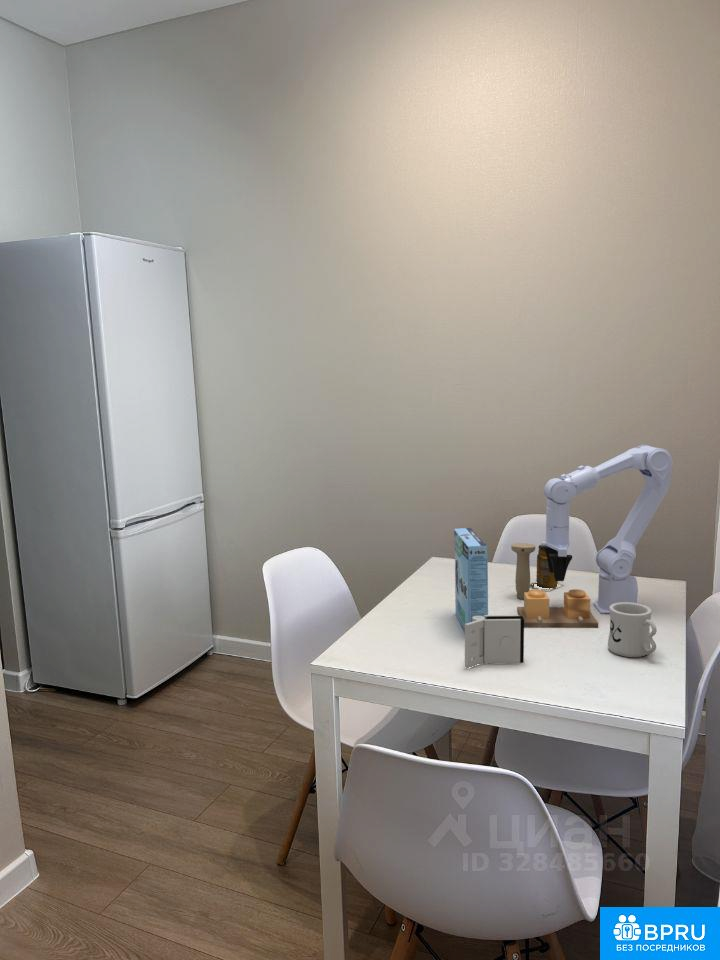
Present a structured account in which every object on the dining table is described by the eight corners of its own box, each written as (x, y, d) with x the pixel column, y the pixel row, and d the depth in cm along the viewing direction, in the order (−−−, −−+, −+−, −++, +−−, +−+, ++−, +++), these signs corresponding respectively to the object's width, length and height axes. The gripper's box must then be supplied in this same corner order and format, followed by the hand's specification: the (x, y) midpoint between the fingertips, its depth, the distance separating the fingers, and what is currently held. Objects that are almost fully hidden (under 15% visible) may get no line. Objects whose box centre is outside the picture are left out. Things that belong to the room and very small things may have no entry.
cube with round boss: (545, 611, 192) (545, 588, 191) (548, 618, 186) (549, 595, 186) (523, 610, 192) (524, 588, 191) (527, 618, 187) (527, 595, 186)
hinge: (465, 670, 160) (465, 625, 158) (457, 660, 165) (457, 616, 163) (526, 663, 162) (526, 619, 161) (516, 654, 168) (517, 611, 166)
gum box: (488, 640, 176) (489, 545, 173) (467, 640, 176) (467, 546, 172) (473, 612, 195) (473, 527, 192) (453, 613, 195) (453, 528, 192)
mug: (598, 647, 170) (600, 605, 169) (629, 640, 174) (631, 599, 172) (638, 667, 159) (640, 622, 158) (670, 659, 163) (672, 615, 161)
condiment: (563, 585, 217) (564, 545, 215) (548, 592, 211) (548, 551, 209) (542, 580, 222) (542, 541, 220) (525, 587, 216) (526, 546, 214)
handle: (534, 601, 203) (535, 548, 201) (510, 600, 205) (510, 547, 202) (534, 596, 208) (535, 543, 205) (511, 594, 209) (511, 542, 207)
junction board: (586, 611, 194) (587, 584, 193) (598, 627, 183) (599, 599, 181) (517, 611, 196) (517, 584, 195) (523, 627, 184) (524, 599, 183)
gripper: (537, 519, 199) (536, 568, 201) (546, 531, 184) (545, 584, 187) (564, 519, 198) (562, 568, 200) (575, 531, 184) (574, 584, 186)
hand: (556, 576), depth 193 cm, fingers open, 7 cm apart
